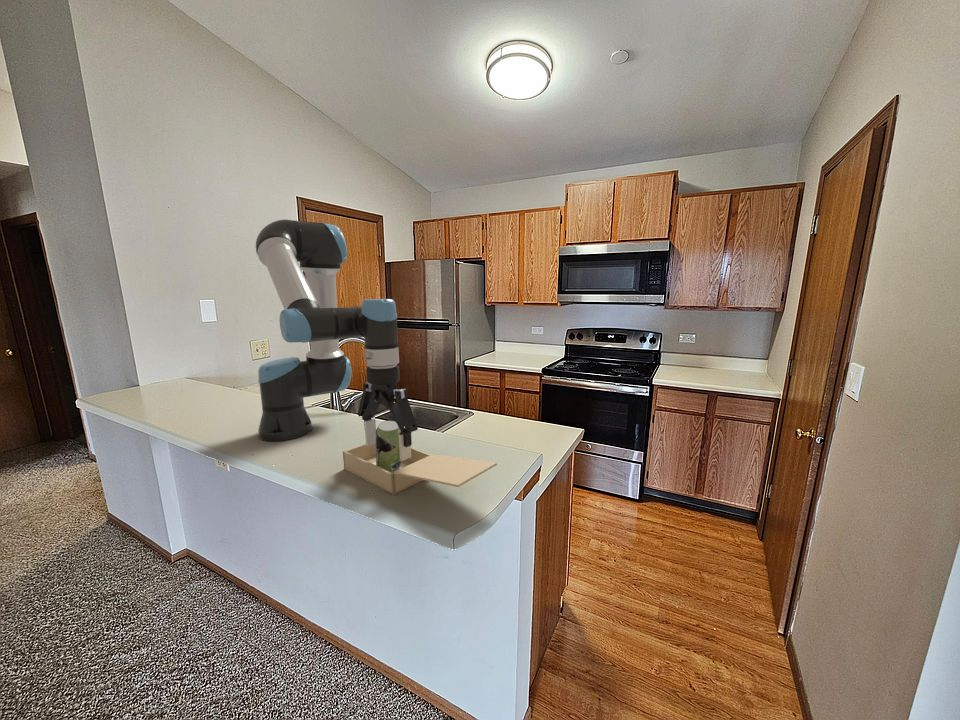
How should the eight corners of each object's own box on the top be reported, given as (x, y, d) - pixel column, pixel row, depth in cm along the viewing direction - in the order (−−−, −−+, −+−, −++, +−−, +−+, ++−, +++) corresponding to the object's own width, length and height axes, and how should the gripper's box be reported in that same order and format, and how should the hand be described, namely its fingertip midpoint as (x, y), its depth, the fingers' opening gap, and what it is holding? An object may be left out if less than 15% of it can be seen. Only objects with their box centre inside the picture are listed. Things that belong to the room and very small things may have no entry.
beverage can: (393, 460, 97) (391, 415, 95) (409, 470, 92) (407, 423, 89) (371, 468, 93) (367, 422, 91) (386, 479, 88) (383, 430, 85)
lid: (458, 485, 68) (458, 487, 68) (496, 462, 77) (497, 465, 77) (393, 471, 81) (394, 474, 81) (433, 454, 90) (433, 456, 90)
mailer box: (344, 468, 94) (342, 451, 93) (385, 452, 104) (384, 436, 103) (393, 495, 82) (392, 475, 81) (435, 474, 91) (434, 456, 90)
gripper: (339, 362, 93) (346, 443, 97) (404, 375, 77) (408, 471, 81) (366, 358, 99) (371, 435, 102) (431, 369, 83) (434, 459, 87)
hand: (387, 451), depth 92 cm, fingers open, 13 cm apart
